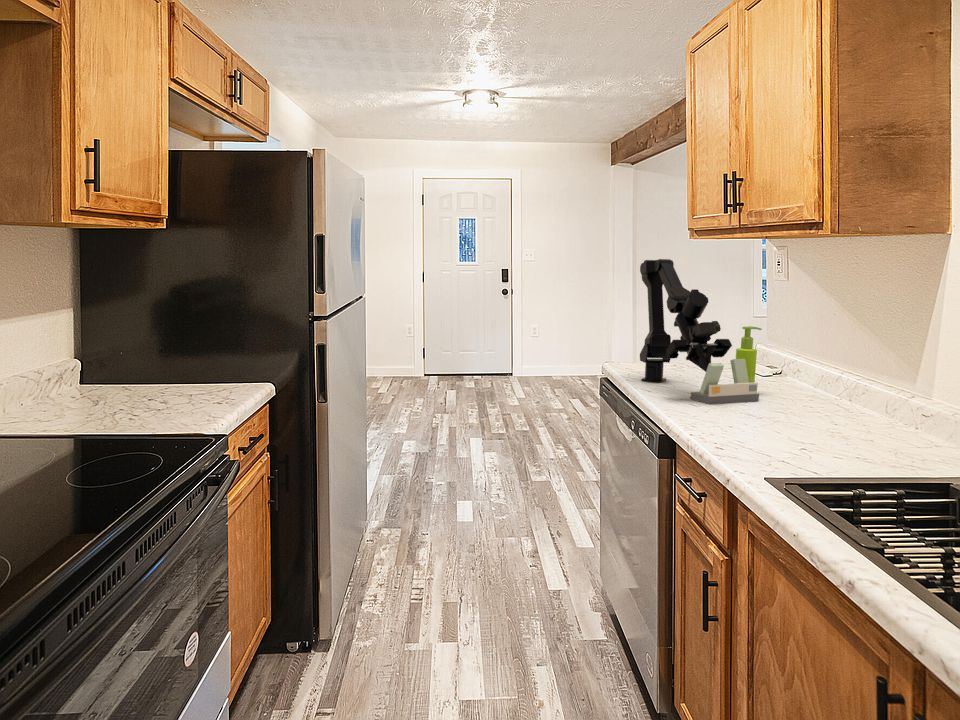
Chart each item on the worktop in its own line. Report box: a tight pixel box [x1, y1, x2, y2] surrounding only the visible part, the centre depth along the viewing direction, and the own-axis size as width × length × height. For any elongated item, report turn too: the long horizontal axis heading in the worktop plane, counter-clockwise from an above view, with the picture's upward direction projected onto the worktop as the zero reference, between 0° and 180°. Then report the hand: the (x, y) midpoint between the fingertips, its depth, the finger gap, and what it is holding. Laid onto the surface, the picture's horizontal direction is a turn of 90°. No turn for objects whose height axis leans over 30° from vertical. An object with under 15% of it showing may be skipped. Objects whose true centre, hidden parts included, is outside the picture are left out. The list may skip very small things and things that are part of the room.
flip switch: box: [699, 362, 725, 394], centre depth 228 cm, size 2×4×9 cm, turn 114°
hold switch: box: [730, 358, 749, 384], centre depth 236 cm, size 2×4×9 cm, turn 113°
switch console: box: [690, 381, 760, 405], centre depth 233 cm, size 8×18×5 cm, turn 113°
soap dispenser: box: [735, 326, 763, 383], centre depth 245 cm, size 6×7×20 cm
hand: (709, 372), depth 229 cm, fingers closed
